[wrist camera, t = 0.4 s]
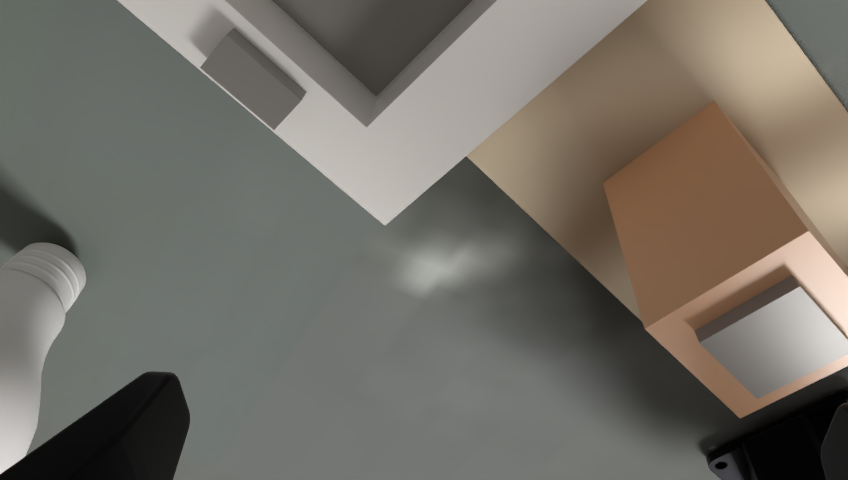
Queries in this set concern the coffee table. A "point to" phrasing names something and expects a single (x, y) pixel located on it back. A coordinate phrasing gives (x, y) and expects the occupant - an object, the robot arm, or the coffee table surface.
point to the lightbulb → (30, 335)
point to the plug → (729, 265)
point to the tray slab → (670, 122)
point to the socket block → (383, 75)
